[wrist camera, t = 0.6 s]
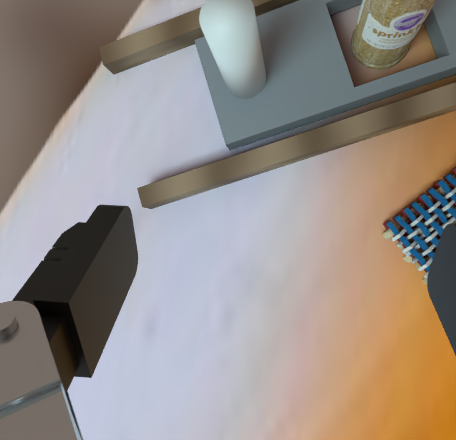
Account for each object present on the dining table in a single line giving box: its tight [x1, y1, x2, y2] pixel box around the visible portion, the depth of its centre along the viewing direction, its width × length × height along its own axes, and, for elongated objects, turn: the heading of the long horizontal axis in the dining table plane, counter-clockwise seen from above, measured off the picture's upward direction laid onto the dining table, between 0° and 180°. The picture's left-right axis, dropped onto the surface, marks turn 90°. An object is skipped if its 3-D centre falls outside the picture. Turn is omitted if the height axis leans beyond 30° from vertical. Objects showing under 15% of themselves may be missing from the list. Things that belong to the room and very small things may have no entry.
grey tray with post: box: [195, 0, 456, 150], centre depth 28 cm, size 22×9×11 cm, turn 106°
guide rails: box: [99, 0, 456, 209], centre depth 33 cm, size 30×14×2 cm, turn 106°
